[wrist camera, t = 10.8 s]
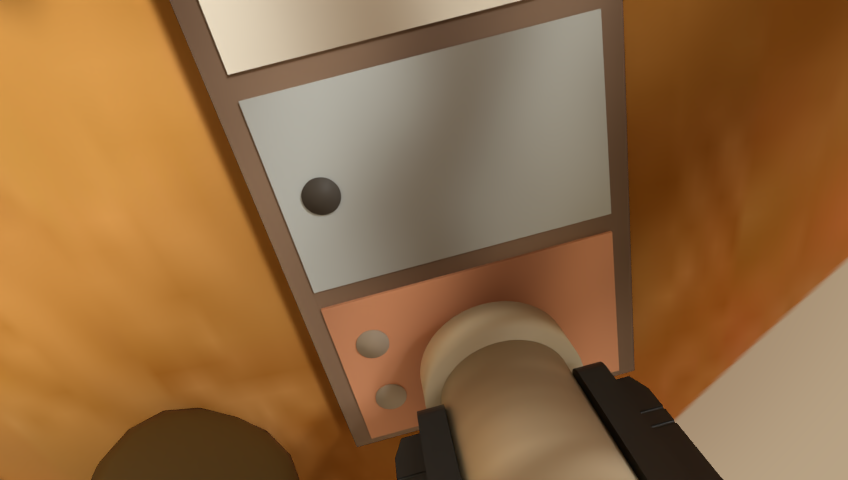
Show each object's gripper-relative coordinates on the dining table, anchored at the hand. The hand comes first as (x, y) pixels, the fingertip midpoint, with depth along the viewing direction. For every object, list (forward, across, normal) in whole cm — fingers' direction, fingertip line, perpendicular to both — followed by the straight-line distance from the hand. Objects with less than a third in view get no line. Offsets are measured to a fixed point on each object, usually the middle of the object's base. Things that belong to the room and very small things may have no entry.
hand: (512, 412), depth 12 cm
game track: (+4, 0, -6) cm, 7 cm away
